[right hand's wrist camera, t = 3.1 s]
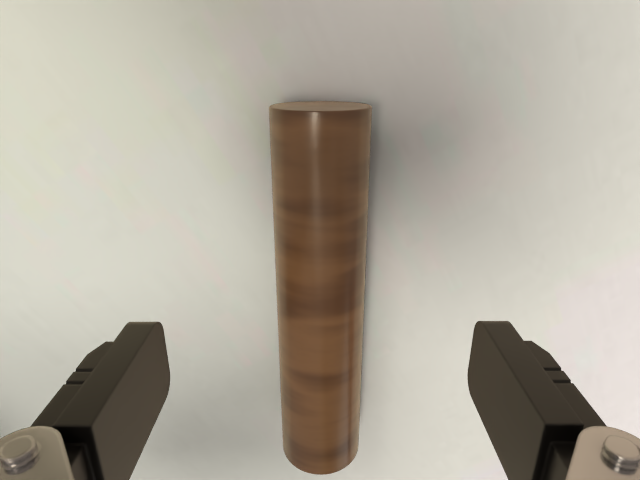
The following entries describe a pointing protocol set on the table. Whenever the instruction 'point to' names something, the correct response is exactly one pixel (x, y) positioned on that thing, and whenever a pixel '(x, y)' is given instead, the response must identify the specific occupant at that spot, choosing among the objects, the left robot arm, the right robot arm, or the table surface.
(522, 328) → the table surface
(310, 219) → the rod
